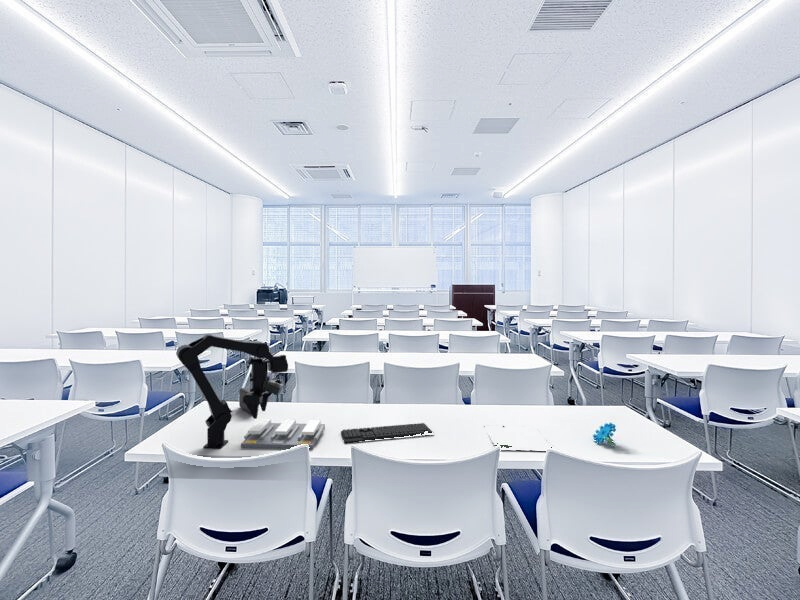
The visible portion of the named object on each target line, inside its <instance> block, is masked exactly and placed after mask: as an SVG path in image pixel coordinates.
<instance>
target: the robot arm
mask: <svg viewBox="0 0 800 600" xmlns="http://www.w3.org/2000/svg"><path fill="white" fill-rule="evenodd" d="M212 347H214V348H219V349H225V350H231V351H236V352H243V353H245V354H248V355H249V356H253V357H249V359H247V361H246V362H245V363H246V364H247V365H251V377H250V378H249V382H251V388H249V389H250V392H253V393H247V394H246V395H245V396H244V397H243V403H245V404H246V405H247V407H248V409H249V411H250V412H251V414H252V415H251V414H250V415H251V416H252V418H253V420H257V418H258V413H259V406H260V408H261V409H260V410H261V411H262V412H265V411H266V409H267V405H268V402H269V399H270V397H271V395H275V396H278V395H279V394H281V392H282V389H283V388H284V384H283V380H282V379H281V378H280V379H279V378H278V379H277V380H271V377H270V376H269V375H268V371H269V372H270V373H271V374H278V373H279V374H280V373H287V372H288V371H289V363H288V359H287V355H286V354H281V355H280V354H279V355H273V354H272V353H271V352H270V348H269V345H268V344H267V343H265V342H262V341H259V340H257V341H256V340H249V341H246V340H245V341H243V340H238V339H233V338H232V339H231V338H227V337H222V336H216V335H212V334H209V333H207V334H205V335H204V336H202V337H200V338H198V339H196V340H194V341H192V342H190V343H189V344H183V345H180V346H179V347H178V348H177V350H176V353H175V354H176V357H177V358H178V360H179V362H180V363H182V365H183V366H184V367H185V368H186V369H187V370H188V372H189V373H190V374H191V376H192V377H193V380H194V381H195V383H196V385H197V386H198V388H199V390H200V392H201V394H202V395H203V397H204V399H205V400H206V402H207V405H208V408H209V411H210V415H209V416H208V418H207V419H206V420H205V421H204V422H205V425H206V426H207V429H206V431H207V433H206V435H207V437H206V438H207V443H205V445H203V446H202V447H203V449H222V448H223V447H224V446H225V445H226V444H227V443H229V440H227V439H225V431H226V429H227V426H228V424H230V422H231V421H232V419H233V418H232V417H233V415H232V413H233V411H232V410H231V408H230V407H229V404H228V402H227V401H226V400H225V399H224V398H223V399H222V400H220V398H219V397H218V396H217V394H216V392H215V390H214V388H213V387H212V386H213V385H212V384H211V383H210V381H209V379H208V378H207V376H206V374H205V372H204V370H203V369H202V367H201V363H200V359H199V356H200V355H202V354H203V353H204V352H206V351H207V350H208V349H209V348H212ZM254 357H256V358H254ZM263 359H265V360H263Z"/></svg>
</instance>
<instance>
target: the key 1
mask: <svg viewBox="0 0 800 600" xmlns="http://www.w3.org/2000/svg"><path fill="white" fill-rule="evenodd" d="M270 423H272V419H267V418H266V419H265V418H260V419H259V420H258V421H257V422H256V423H255V424H253V426H251V427H250V428H249V429H248V430H247V433H248V434H260V433H261V432H262V431H263V430H264V429H265V428H266V427H267V426H268V425H269V424H270Z"/></svg>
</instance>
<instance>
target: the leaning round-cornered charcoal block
mask: <svg viewBox="0 0 800 600" xmlns="http://www.w3.org/2000/svg"><path fill="white" fill-rule="evenodd" d="M250 389H251V388H245V387H241V388H239V392H238V393H239V395H238V399H239V400H238V401H239V402H238V403H239V404H238V405H239V408H241V409H242V410H244V411H245V412H246V413H248V414H250V415H251V416H252V414H251V412H250V411H249V409H248V407H247V405H246V404H245V403H243V397H244V396H245V395H246V394H247V393H253V392H250Z"/></svg>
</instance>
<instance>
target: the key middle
mask: <svg viewBox="0 0 800 600" xmlns="http://www.w3.org/2000/svg"><path fill="white" fill-rule="evenodd" d="M281 423H282V424H281V425H280V426H279V427H278V428H277V429H276V430H275V434H278V435H287V433H288V432H289V431H290V430H291V428H292V427H293V426H294V425H295V424H297V420H296V419H284V420H283V421H282V422H281Z"/></svg>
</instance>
